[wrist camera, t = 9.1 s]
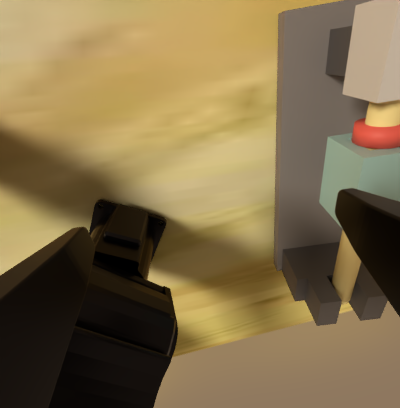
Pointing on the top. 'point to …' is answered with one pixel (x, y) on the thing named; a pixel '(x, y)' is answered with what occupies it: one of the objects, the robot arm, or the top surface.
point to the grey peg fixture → (317, 141)
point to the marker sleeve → (358, 171)
